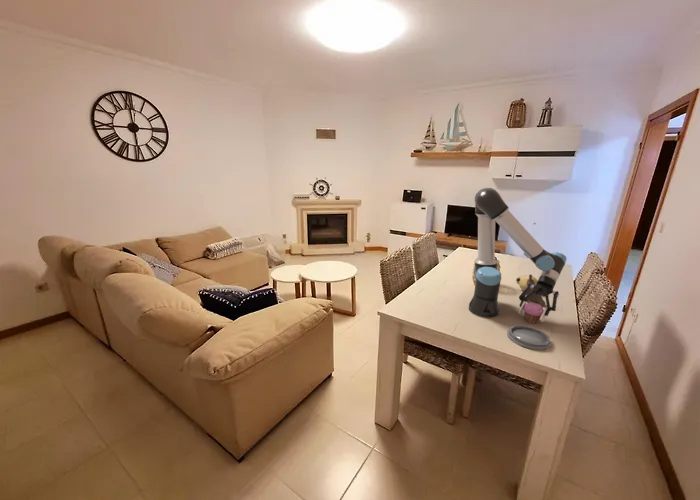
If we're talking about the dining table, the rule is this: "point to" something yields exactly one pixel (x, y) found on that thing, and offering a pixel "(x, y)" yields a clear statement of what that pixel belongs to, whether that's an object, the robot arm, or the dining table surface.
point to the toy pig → (524, 281)
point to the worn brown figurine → (537, 297)
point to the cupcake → (533, 312)
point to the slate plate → (529, 337)
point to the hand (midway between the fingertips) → (530, 316)
